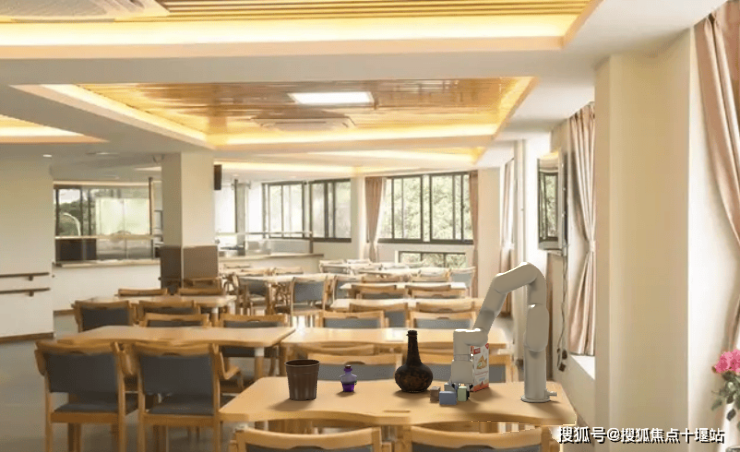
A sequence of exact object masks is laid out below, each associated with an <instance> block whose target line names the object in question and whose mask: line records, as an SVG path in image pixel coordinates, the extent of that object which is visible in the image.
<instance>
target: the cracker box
mask: <svg viewBox="0 0 740 452" xmlns="http://www.w3.org/2000/svg"><path fill="white" fill-rule="evenodd" d="M489 346H490V343H489V342H487V344H486V345H484V346H482V347H475V346H470V348H471V355H474V358H471V360H472V361H473V365H474V377H475V379H476V381H477V383H478V384H477V385H476V386H474V387H472V388H471V389H470V392H477V391H479V390H482V389H485V388H489V387H490V385H489V384H490V382H489V381H490V377H489V376H490V369H489V367H490V364H489V363H490V362H489V361H490V359H489V357H490V347H489ZM473 383H474V382H473ZM473 383H472V384H473ZM470 385H471V384H470ZM463 386H466V384H463Z"/></svg>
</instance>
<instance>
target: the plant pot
mask: <svg viewBox="0 0 740 452" xmlns="http://www.w3.org/2000/svg"><path fill="white" fill-rule="evenodd" d="M283 364H284V365H285V371H286V372H285V373H286V375H287V376H286V377H287V385H288V393H289V394H288V395H289V399H291V400H294V401H306V400H310V399H311V400H315V398H317V395H318V394H317V391H318V378H319V376H318V375H319V371H320V369H319V368H320V364H321V361H320V360H317V359H311V358H309V359H308V358H306V359H305V358H301V359H300V358H299V359H291V360H290V359H289V360H287V361H285V362H283ZM311 400H310V401H311Z"/></svg>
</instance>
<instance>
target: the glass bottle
mask: <svg viewBox="0 0 740 452" xmlns="http://www.w3.org/2000/svg"><path fill="white" fill-rule="evenodd" d="M405 336H407V354H406V361H405V363H404V364H402V365H400V366H398V367H397V369H396V370H395V372H394V381H395V383H396V385H397V386H398V387H399V389H401V390H402V391H403V392H406V393H421V392H424V391H426V390H428V389H430V388H429V387H431V386H432V383H433V381H434V380H433V379H434V374H433V370H432V369H431V368H430V367H429V366H428V365H426V364H424V363H423V361H422V359H421V356H420V351H419V344H418V330H415V329H409V330H407V334H405Z"/></svg>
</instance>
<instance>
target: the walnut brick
mask: <svg viewBox="0 0 740 452" xmlns="http://www.w3.org/2000/svg"><path fill="white" fill-rule="evenodd" d="M440 391H442V390H441V385H440V386H437V385H434V386H431V388H429V401H430V402H431V401H434V402H439V392H440Z"/></svg>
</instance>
